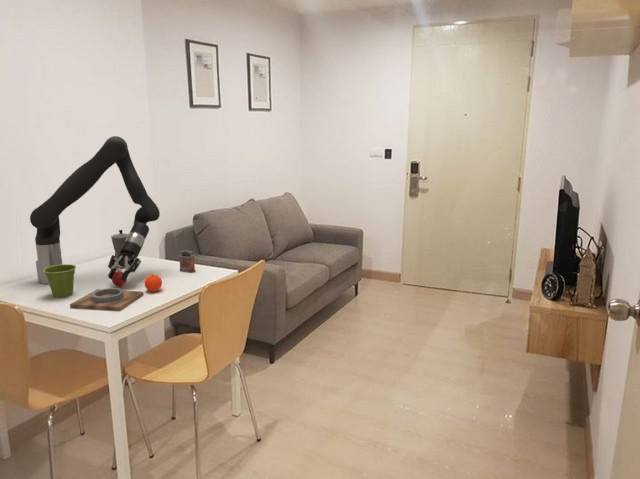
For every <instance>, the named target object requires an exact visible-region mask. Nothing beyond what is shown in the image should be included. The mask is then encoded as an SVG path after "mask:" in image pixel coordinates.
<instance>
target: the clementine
mask: <svg viewBox="0 0 640 479" xmlns="http://www.w3.org/2000/svg"><path fill="white" fill-rule="evenodd" d="M160 276H161V277H162V275H161V274H157V273H155V274H149V275H148V276H147V277H146V278H145V280H144V286H145V288H146V290H148V291H149V292H154V293H155V292H158V291H159V290H160V289H161V288H162V286H163V281H162V279H164V277H162V278H161V277H160Z"/></svg>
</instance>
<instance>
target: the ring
mask: <svg viewBox="0 0 640 479" xmlns="http://www.w3.org/2000/svg"><path fill="white" fill-rule="evenodd" d="M96 290H97V289H96ZM94 291H95V290H94ZM123 291H124V289H121V288H119V287H117V288H115V287H109V288H101V290H97V291H95V292H93V291H92V292H93V293H92V294H91V298H92V301H94V302H96V303H107V302H114V301H117V300H120V299H122V298H123V297H124V294H123ZM105 294H116V295H113V296H107V297H98V296H101V295H105Z"/></svg>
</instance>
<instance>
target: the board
mask: <svg viewBox="0 0 640 479" xmlns="http://www.w3.org/2000/svg"><path fill="white" fill-rule="evenodd" d="M101 289H102V288H101ZM101 289H100V288H99V289H94V290H92V291H91V292H90V293H88V294H86V295H84V296H82V297H80V298H79V299H77V300H75V301H73V302H71V303H70V304H69V308H70V309H78V310H79V309H80V310H81V309H82V310H93V311H95V310H99V311H112V312H113V311H114V312H121V311H122V310H124V309H126V308H127V307H129V306H130V305H131V304H133V303H135V302H136V301H137V300H139V299H140V298H141V297H143V296H144V291H140V290H139V291H138V290H137V291H135V290H123V294H124V297H123V298H122V299H120V300H117V301H114V302H107V303H96V302H94V301H92V298H91V294H92V293H93V292H95V291H97V290H101ZM113 295H116V294H105V295H101V296H98V297H107V296H113Z"/></svg>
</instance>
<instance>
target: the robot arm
mask: <svg viewBox="0 0 640 479" xmlns="http://www.w3.org/2000/svg"><path fill="white" fill-rule="evenodd" d="M113 165H116V166H117V168H118V170H119V172H120V176H122V177H121V178H122V179H123V182H124V185H125V188H126V190H127V192H128V193H127V194H128V195H129V197H130V199H131V201H132V202H133V203H134V204H136V205H139V206H140V207H139V208H138V209H137V210H136V211H135V215H134V218H133V219H134V220H133V226H132V227H131V228H130V229H131V230H130V231H129V233H128V234H129V235H128V236H127V238H126V240H125V242H124V244H123V246H122V248H121V250H120V254H119V255H118V256H115V254H113V255H111V257H110V261H109V262H108V265H107V266H108V268H109V269H110V271H109V273H108V276H107V277H108V278H109V279H110V280H112V277H113V275H114V274H115V273H116V272H117V271H118V269H119V268H121V267H122V266H125V268H124V271H123V275H122V277H121V279H122V280H123V281H125V280H126V279H127V280H128V277H129V275H130V274H131V273H135V272H136V270H137V269H138V268H139V266H140V264H141V263H142V260H141V259H140V258H139V255H140V252H141V250H142V249H143V246H144V244H145V241H146V238H147V236H148V234H149V231H150V228H149V225H148V224H147V223H149V222H150V223H151V222H155V221H158V219H159V218H160V216H161V215H160V209H159V207H158V206H157V204H156V203H155V202H154V200H153V199H152V198H151V197H150V196H149V194H148V192H147V190H146V188H145V185H144V184H143V182H142V180H141V177H140V176H139V174H138V172H137V170H136V168H135V165H134V162H133V161H132V157H131V155H130V151H129V148H128V144H127V142H126V140H125V139H124V138H122V137H120V136H117V135H116V136H114V135H113V136H111V137H109V138H107V139H106V140H105V142H104V143H103V145H102V146H101V147H100V149H99V150H98V151H97V152H96V153H95V154H94V155H93V156H92V157H91V158H90V159H89V160H88V161H86V162H85V163H83V164H82V165H81V166H79V167H78V168H77V169H75V171H73V172H72V173H71V174H70V175H69V176H68V177H67V178H66V179H65V180H64V181H63V182H62V183H61V185H59V186H58V188H57V189H56V190H55V191H54V193H53V194H52V195H51V196H50V197H49V198H47V199H46V200H45V201H44V202H43V203H42V204H40V205H39V206H38V207H36V208H34V209H33V210H32V211H31V213H30V215H29V216H30V217H29V221H30V224H31V225H32V226H33V227H34V228H36V235H35V237H34V238H35V240H34V241H35V250H36V256H37V260H36V261H35V265H36V274H37V283H39V284H42V285H49V282H48V279H47V277H46V275H45V273H44V272H43V270H44V269H45V268H47V267H50V266H55V265H62V264H63V259H62V258H63V257H62V248H61V239H60V238H61V223H60V215H62V213H63V212H64V211H65V210H66V209H67V208H68V207H70V206H71V205H73V204H74V203H75V202H77V201H79V199H81V198H82V197H83V196H85V194H86V193H88V192H89V191H90V190H91V189H92V188H93V187H94V186H95V184H97V183H98V181H99V180H100V179H101V177H102V176H103V175H104V173H105V172H107V170H109V168H111V167H112V166H113ZM118 263H119V264H120V265H118ZM132 263H133V264H132ZM116 266H117V267H116ZM115 267H116V268H115Z"/></svg>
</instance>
